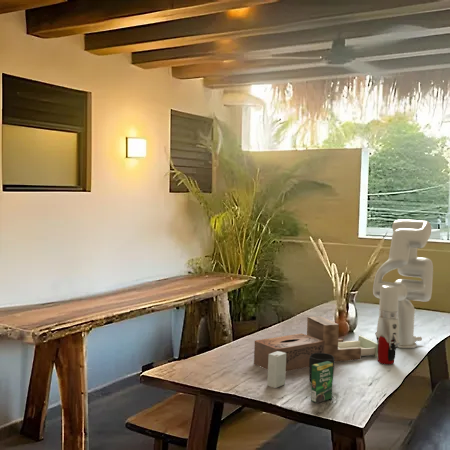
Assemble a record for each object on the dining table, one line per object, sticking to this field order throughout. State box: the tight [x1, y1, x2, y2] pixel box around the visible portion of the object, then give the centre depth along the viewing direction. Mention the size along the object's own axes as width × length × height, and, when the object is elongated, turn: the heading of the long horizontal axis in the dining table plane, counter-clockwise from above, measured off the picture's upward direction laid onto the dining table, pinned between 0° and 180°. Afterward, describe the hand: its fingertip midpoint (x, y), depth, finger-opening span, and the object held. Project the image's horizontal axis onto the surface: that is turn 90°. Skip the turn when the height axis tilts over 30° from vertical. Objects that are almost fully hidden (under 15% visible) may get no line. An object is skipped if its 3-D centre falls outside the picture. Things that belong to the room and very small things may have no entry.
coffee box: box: [310, 361, 334, 404], centre depth 200 cm, size 8×3×13 cm, turn 125°
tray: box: [338, 334, 378, 358], centre depth 258 cm, size 19×15×6 cm
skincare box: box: [266, 351, 287, 389], centre depth 215 cm, size 6×4×12 cm
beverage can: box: [377, 336, 395, 366], centre depth 246 cm, size 7×7×12 cm
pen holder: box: [308, 353, 335, 383], centre depth 219 cm, size 9×9×10 cm
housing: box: [306, 315, 362, 363], centre depth 255 cm, size 18×16×16 cm
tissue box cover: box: [253, 333, 325, 372], centre depth 241 cm, size 26×14×10 cm, turn 124°
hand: (386, 355), depth 246 cm, fingers closed on beverage can, 6 cm apart
